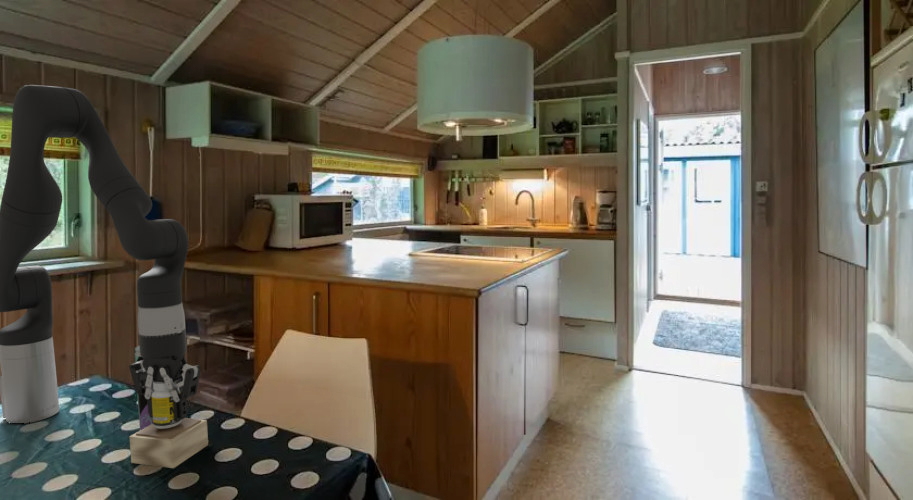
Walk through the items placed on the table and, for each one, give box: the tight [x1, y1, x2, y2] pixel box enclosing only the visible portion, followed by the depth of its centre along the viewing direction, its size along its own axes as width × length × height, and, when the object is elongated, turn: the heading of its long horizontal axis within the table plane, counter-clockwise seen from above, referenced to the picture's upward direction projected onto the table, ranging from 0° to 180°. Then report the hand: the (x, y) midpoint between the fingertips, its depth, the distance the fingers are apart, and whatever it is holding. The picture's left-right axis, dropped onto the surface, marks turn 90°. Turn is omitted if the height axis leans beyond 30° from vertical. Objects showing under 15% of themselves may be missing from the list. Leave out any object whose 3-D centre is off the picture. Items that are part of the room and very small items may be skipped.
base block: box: [128, 417, 209, 469], centre depth 99 cm, size 9×9×5 cm
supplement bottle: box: [152, 380, 182, 429], centre depth 98 cm, size 5×5×8 cm
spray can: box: [133, 345, 153, 431], centre depth 108 cm, size 6×6×20 cm
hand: (168, 417), depth 98 cm, fingers closed on supplement bottle, 4 cm apart
